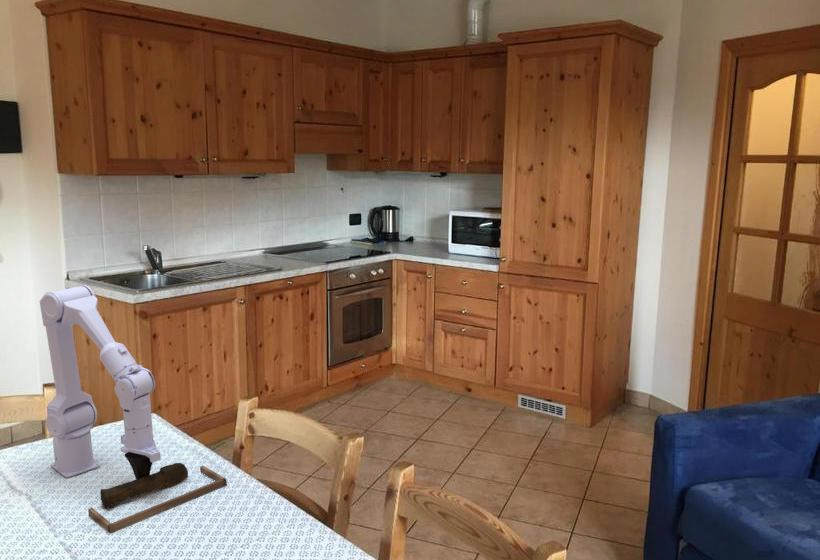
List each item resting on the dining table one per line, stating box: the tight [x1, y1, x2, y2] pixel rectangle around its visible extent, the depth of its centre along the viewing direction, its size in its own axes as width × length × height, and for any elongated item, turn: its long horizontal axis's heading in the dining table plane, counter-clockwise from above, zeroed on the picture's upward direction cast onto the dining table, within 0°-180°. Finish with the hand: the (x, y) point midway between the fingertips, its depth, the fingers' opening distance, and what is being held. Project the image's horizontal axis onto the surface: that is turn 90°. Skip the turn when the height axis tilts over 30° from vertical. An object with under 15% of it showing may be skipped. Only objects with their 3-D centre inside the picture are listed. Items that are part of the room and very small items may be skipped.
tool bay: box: [88, 465, 228, 534], centre depth 147 cm, size 10×27×2 cm, turn 138°
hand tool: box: [99, 462, 189, 509], centre depth 150 cm, size 19×4×5 cm, turn 131°
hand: (142, 481), depth 153 cm, fingers closed
